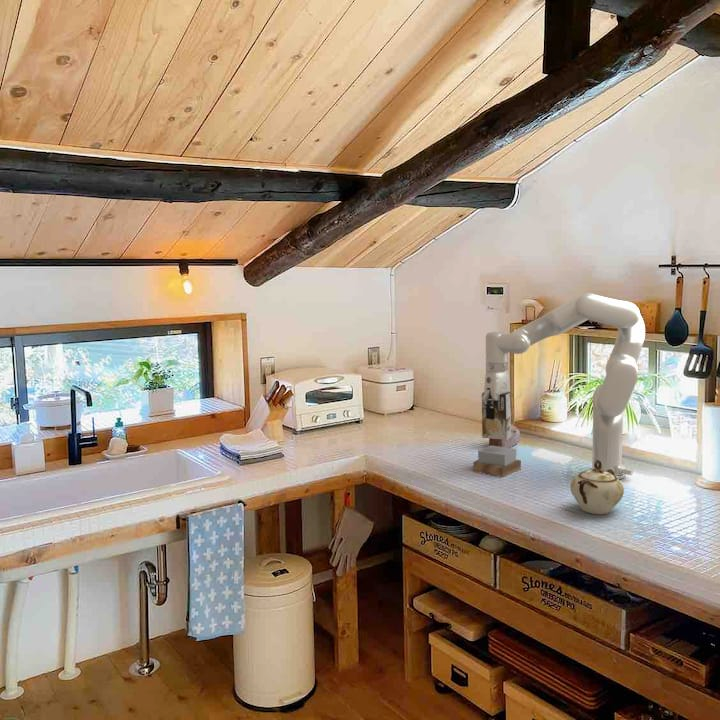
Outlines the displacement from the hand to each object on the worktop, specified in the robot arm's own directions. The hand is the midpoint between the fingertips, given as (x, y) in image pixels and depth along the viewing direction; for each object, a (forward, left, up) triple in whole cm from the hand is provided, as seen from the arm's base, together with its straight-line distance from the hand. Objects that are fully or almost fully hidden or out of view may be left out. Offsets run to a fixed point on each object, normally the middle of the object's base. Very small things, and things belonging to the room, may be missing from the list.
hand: (496, 416), depth 250 cm
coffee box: (0, 0, -8) cm, 8 cm away
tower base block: (0, 0, -20) cm, 20 cm away
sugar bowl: (-45, +16, -20) cm, 52 cm away
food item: (+16, -31, -20) cm, 40 cm away
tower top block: (0, 0, -16) cm, 16 cm away
